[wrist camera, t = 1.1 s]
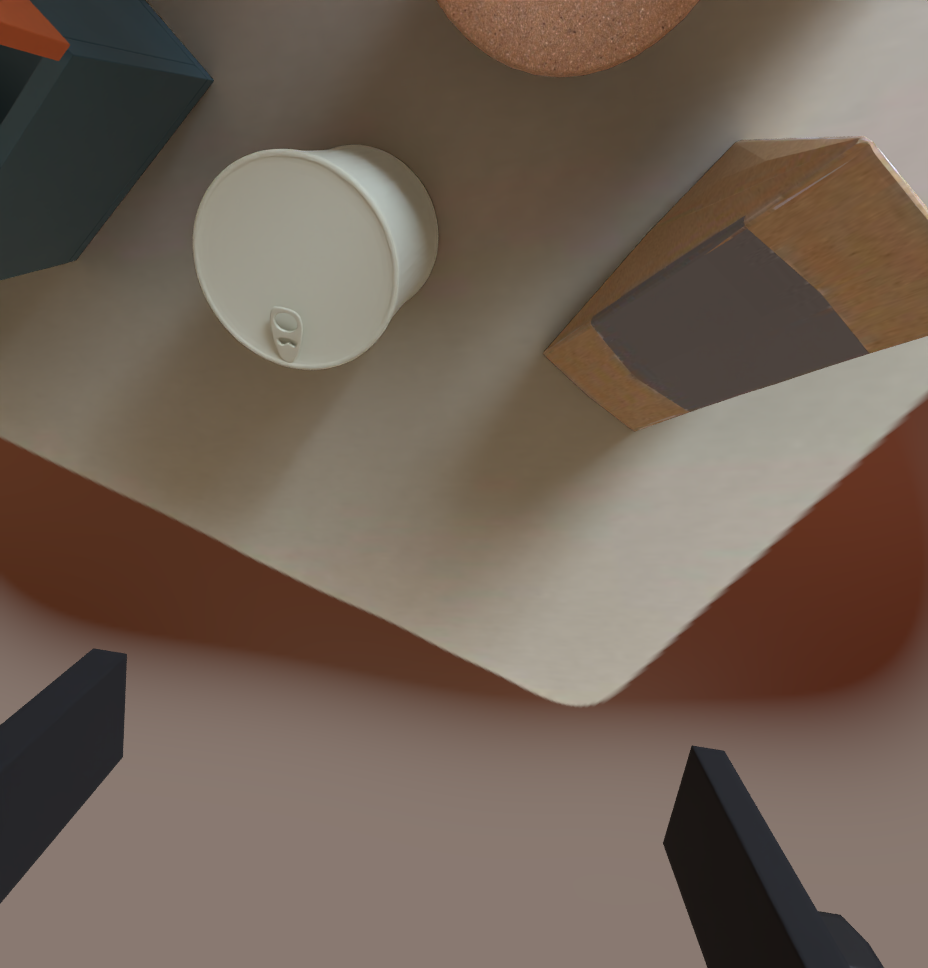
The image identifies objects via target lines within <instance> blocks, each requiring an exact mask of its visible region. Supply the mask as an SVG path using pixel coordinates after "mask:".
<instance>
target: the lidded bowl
mask: <svg viewBox="0 0 928 968" xmlns="http://www.w3.org/2000/svg"><path fill="white" fill-rule="evenodd" d="M436 1H437V2H438V4H439V5H440V7H441V8H442V10H443V11H444V13H445V14H446V16H447V17H448V18H449V20H450V21H451V22H452V23H453V24H454V25H455V26H456V27H457V28H458V29H459V31H460V32H461V33H462V34H463V35H464V36H465V37H466V38H467V39H468V40H469V41H470V42H471V43H473V44H474V45H475V46H477V47H478V48H479V49H480V50H482V51H483V52H484V53H486V54H487V55H488V56H490V57H492V58H494V59H495V60H497V61H499V62H501V63H503V64H505V65H507V66H509V67H511V68H514V69H517V70H520V71H524V72H527V73H530V74H533V75H539V76H548V77H557V78H558V77H571V76H584V75H588V74H591V73H595V72H599V71H603V70H607V69H610V68H612V67H614V66H616V65H618V64H621V63H623V62H625V61H627V60H630V59H632V58H634V57H635V56H637V55H638V54H640V53H641V52H643V51H644V50H646V49H647V48H649V47H650V46H652V45H654V44H655V43H657V42H658V41H659V40H660V39H662V38H663V37H664V36H665V35H666V34H667V33H668V32H670V31H671V30H672V29H673V28H674V27H675V26H676V25H677V24H679V23H680V22H681V21H682V20H683V19H684V18H685V17H686V15H687V14H688V13H689V12H690V11H691V10H692V9H693V7H694V6H695V5H696V4H697V3H698V2H699V0H436Z"/></svg>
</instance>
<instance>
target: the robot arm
mask: <svg viewBox="0 0 928 968" xmlns="http://www.w3.org/2000/svg"><path fill="white" fill-rule="evenodd" d="M126 661H127V654H124V653H118V652H111V651H106V650H100V649H92V650H91V651H90V652H89V653H87V654H86V655H85V656H84V657H82V658H81V659H80V660H79V661H78V662H76V663H75V664H74V665H73V666H72V667H70V668H69V669H68V670H67V671H65V672H64V673H63V674H62V675H61V676H60V677H58V678H57V679H56V680H55V681H53V682H52V683H51V684H50V685H48V686H47V687H46V688H45V689H44V690H42V691H41V692H40V693H39V694H38V695H37V696H35V697H34V698H33V699H31V701H29V702H28V703H27V704H25V705H24V706H23V707H22V708H21V709H19V710H18V711H17V712H16V713H15V714H13V715H12V716H11V717H10V718H8V719H7V720H6V721H5V722H4V723H2V724H1V725H0V903H1V902H2V901H3V899H5V897H6V896H7V895H8V894H9V892H10V891H11V890H12V889H13V888H14V887H15V885H16V884H17V883H18V882H19V881H20V879H21V878H22V877H23V876H24V875H25V873H26V872H27V871H28V870H29V869H30V867H31V866H32V865H33V864H34V863H35V861H36V860H37V859H38V858H39V857H40V856H41V854H42V853H43V852H44V851H45V849H46V848H47V847H48V846H49V845H50V844H51V842H52V841H53V840H54V839H55V838H56V836H57V835H58V834H59V833H60V832H61V830H62V829H63V828H64V827H65V826H66V824H67V823H68V822H69V821H70V819H71V818H72V817H73V816H74V815H75V814H76V812H77V811H78V810H79V809H80V808H81V806H82V805H83V804H84V803H85V801H86V800H87V799H88V798H89V797H90V796H91V794H92V793H93V792H94V791H95V790H96V788H97V787H98V786H99V785H100V784H101V783H102V781H103V780H104V779H105V778H106V777H107V775H108V774H109V773H110V772H111V771H112V769H113V768H114V767H115V766H116V765H117V763H118V762H119V761H120V760H121V759H122V757H123V739H124V713H125V689H126V688H125V687H126V663H127V662H126ZM663 845H664V847H665V850H666V853H667V856H668V859H669V861H670V864H671V867H672V870H673V872H674V875H675V878H676V881H677V884H678V886H679V889H680V892H681V895H682V898H683V901H684V903H685V906H686V909H687V912H688V915H689V917H690V920H691V923H692V926H693V928H694V931H695V934H696V937H697V940H698V942H699V945H700V948H701V951H702V953H703V956H704V959H705V962H706V965H707V968H884V967H883V965H882V964H881V962H880V961H879V959H878V958H877V956H876V954H875V953H874V951H873V950H872V948H871V946H870V945H869V943H868V942H866V941H865V939H864V938H863V937H862V936H861V935H860V934H859V933H858V932H857V931H856V930H855V929H854V928H853V927H852V926H851V925H850V924H849V923H848V922H847V921H846V920H845V919H844V918H843V917H842V916H841V915H838V914H831V913H826V912H819V911H817V910H816V908H815V906H814V904H813V903H812V901H811V899H810V897H809V896H808V894H807V892H806V891H805V889H804V887H803V886H802V884H801V882H800V880H799V878H798V877H797V875H796V874H795V872H794V870H793V868H792V866H791V865H790V863H789V861H788V860H787V858H786V856H785V854H784V853H783V851H782V850H781V848H780V846H779V844H778V842H777V841H776V839H775V837H774V836H773V834H772V832H771V831H770V829H769V827H768V825H767V824H766V822H765V820H764V818H763V817H762V815H761V814H760V811H759V810H758V808H757V806H756V805H755V803H754V801H753V800H752V798H751V796H750V794H749V793H748V791H747V789H746V787H745V786H744V784H743V782H742V781H741V779H740V777H739V775H738V774H737V772H736V770H735V769H734V767H733V765H732V763H731V762H730V760H729V758H728V757H727V755H726V753H725V751H722V750H716V749H709V748H703V747H697V746H692V747H691V750H690V753H689V757H688V760H687V764H686V767H685V771H684V774H683V777H682V781H681V784H680V787H679V791H678V794H677V797H676V801H675V804H674V808H673V811H672V814H671V818H670V822H669V825H668V828H667V831H666V835H665V838H664V842H663Z"/></svg>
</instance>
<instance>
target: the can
mask: <svg viewBox="0 0 928 968" xmlns="http://www.w3.org/2000/svg"><path fill="white" fill-rule="evenodd" d="M437 249H438V225H437V218H436V214H435V210H434V207H433V204H432V202H431V199H430V197H429V195H428V193H427V191H426V189H425V187H424V186H423V184H422V183H421V181H420V180H419V179H418V177H417V176H416V175H415V174H414V173H413V172H412V171H411V170H410V169H409V168H408V167H407V166H406V165H405V164H404V163H403V162H401V161H400V160H399V159H397V158H396V157H394V156H392V155H391V154H389V153H387V152H385V151H382V150H380V149H377V148H374V147H370V146H365V145H343V146H338V147H334V148H331V149H328V150H315V151H300V150H294V149H270V150H262V151H258V152H255V153H252V154H249V155H246V156H244V157H242V158H240V159H238V160H237V161H235V162H233V163H232V164H230V165H229V166H228V167H226V168H225V169H224V170H223V171H222V172H221V173H220V174H219V175H218V176H217V177H216V178H215V179H214V180H213V182H212V183H211V185H210V186H209V187H208V189H207V190H206V192H205V194H204V196H203V198H202V200H201V203H200V205H199V207H198V210H197V214H196V217H195V222H194V228H193V258H194V265H195V269H196V274H197V277H198V280H199V284H200V286H201V289H202V291H203V294H204V296H205V298H206V300H207V302H208V304H209V306H210V307H211V309H212V311H213V312H214V314H215V315H216V317H217V318H218V320H219V321H220V322H221V324H222V325H223V326H224V327H225V328H226V329H227V330H228V332H229V333H230V334H231V335H232V336H233V337H234V338H236V339H237V340H238V341H239V342H240V343H241V344H242V345H244V346H245V347H246V348H248V349H249V350H251V351H252V352H254V353H255V354H257V355H259V356H261V357H262V358H264V359H266V360H269V361H271V362H273V363H276V364H279V365H282V366H285V367H289V368H294V369H301V370H322V369H328V368H333V367H337V366H340V365H343V364H346V363H348V362H350V361H352V360H354V359H356V358H357V357H359V356H360V355H362V354H363V353H364V352H366V351H367V350H368V349H369V348H371V347H372V346H373V345H374V344H375V342H376V341H377V340H378V339H379V338H380V336H381V335H382V334H383V332H384V331H385V329H386V328H387V326H388V324H389V322H390V320H391V319H392V318H393V316H394V315H395V314H396V312H397V311H398V310H399V309H400V308H401V306H402V305H403V304H404V303H405V302H406V301H408V300H409V299H410V298H412V297H413V296H414V295H415V294H416V293H417V292H418V291H419V290H420V288H421V287H422V286H423V285H424V283H425V282H426V280H427V279H428V277H429V275H430V273H431V271H432V268H433V265H434V262H435V259H436V255H437Z"/></svg>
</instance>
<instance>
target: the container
mask: <svg viewBox="0 0 928 968" xmlns="http://www.w3.org/2000/svg"><path fill="white" fill-rule="evenodd" d="M30 1H31V3H32V4H33V5H34V6H35V7H36V8H37V9H38V10H39V11H40V12H41V13H42V14H43V16H44V17H45V18H46V19H47V20H48V21H49V22H50V23H51V24H52V25H53V26H54V27H55V29H56V30H57V31H58V32H59V33H60V34H61V35H62V36H63V37H64V38H65V39H66V40H67V42H68V43H69V44H70V46H69V48H68V49H67V51H66V52H65V53H64V55H63V56H62V57H61V59H60V60H59V61H56V60H53V59H49V58H46V57H42V56H39V55H35V54H32V53H28V52H25V51H21V50H18V49H14V48H11V47H7V46H4V45H0V280H4V279H7V278H11V277H15V276H19V275H23V274H26V273H30V272H34V271H38V270H42V269H46V268H49V267H53V266H57V265H61V264H65V263H68V262H72V261H75V260H77V258H78V257H79V256H80V254H81V253H82V252H83V250H84V249H85V248H86V246H87V245H88V244H89V243H90V241H91V240H92V239H93V237H94V236H95V235H96V233H97V232H98V231H99V230H100V228H101V227H102V226H103V224H104V223H105V222H106V220H107V219H108V218H109V217H110V215H111V214H112V213H113V211H114V210H115V209H116V207H117V206H118V205H119V204H120V202H121V201H122V200H123V198H124V197H125V196H126V194H127V193H128V192H129V191H130V189H131V188H132V187H133V185H134V184H135V183H136V181H137V180H138V179H139V177H140V176H141V175H142V174H143V172H144V171H145V170H146V168H147V167H148V166H149V164H150V163H151V162H152V161H153V159H154V158H155V157H156V155H157V154H158V153H159V151H160V150H161V149H162V148H163V146H164V145H165V144H166V142H167V141H168V140H169V138H170V137H171V136H172V135H173V133H174V132H175V131H176V129H177V128H178V127H179V125H180V124H181V123H182V122H183V120H184V119H185V118H186V116H187V115H188V114H189V112H190V111H191V110H192V108H193V107H194V106H195V105H196V103H197V102H198V101H199V99H200V98H201V97H202V95H203V94H204V93H205V92H206V90H207V89H208V88H209V86H210V85H211V84H212V82H213V81H214V80H213V79H212V77H211V76H210V75H209V74H208V73H207V72H206V70H205V69H204V68H203V67H202V66H201V65H200V64H199V62H198V61H197V60H196V59H195V58H194V57H193V55H192V54H191V53H190V52H189V51H188V50H187V48H186V47H185V46H184V45H183V44H182V43H181V41H180V40H179V39H178V38H177V37H176V36H175V35H174V33H173V32H172V31H171V30H170V29H169V28H168V26H167V25H166V24H165V23H164V22H163V21H162V19H161V18H160V17H159V16H158V15H157V14H156V12H155V11H154V10H153V9H152V8H151V7H150V5H149V4H148V3H147V2H146V1H145V0H30Z"/></svg>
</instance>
